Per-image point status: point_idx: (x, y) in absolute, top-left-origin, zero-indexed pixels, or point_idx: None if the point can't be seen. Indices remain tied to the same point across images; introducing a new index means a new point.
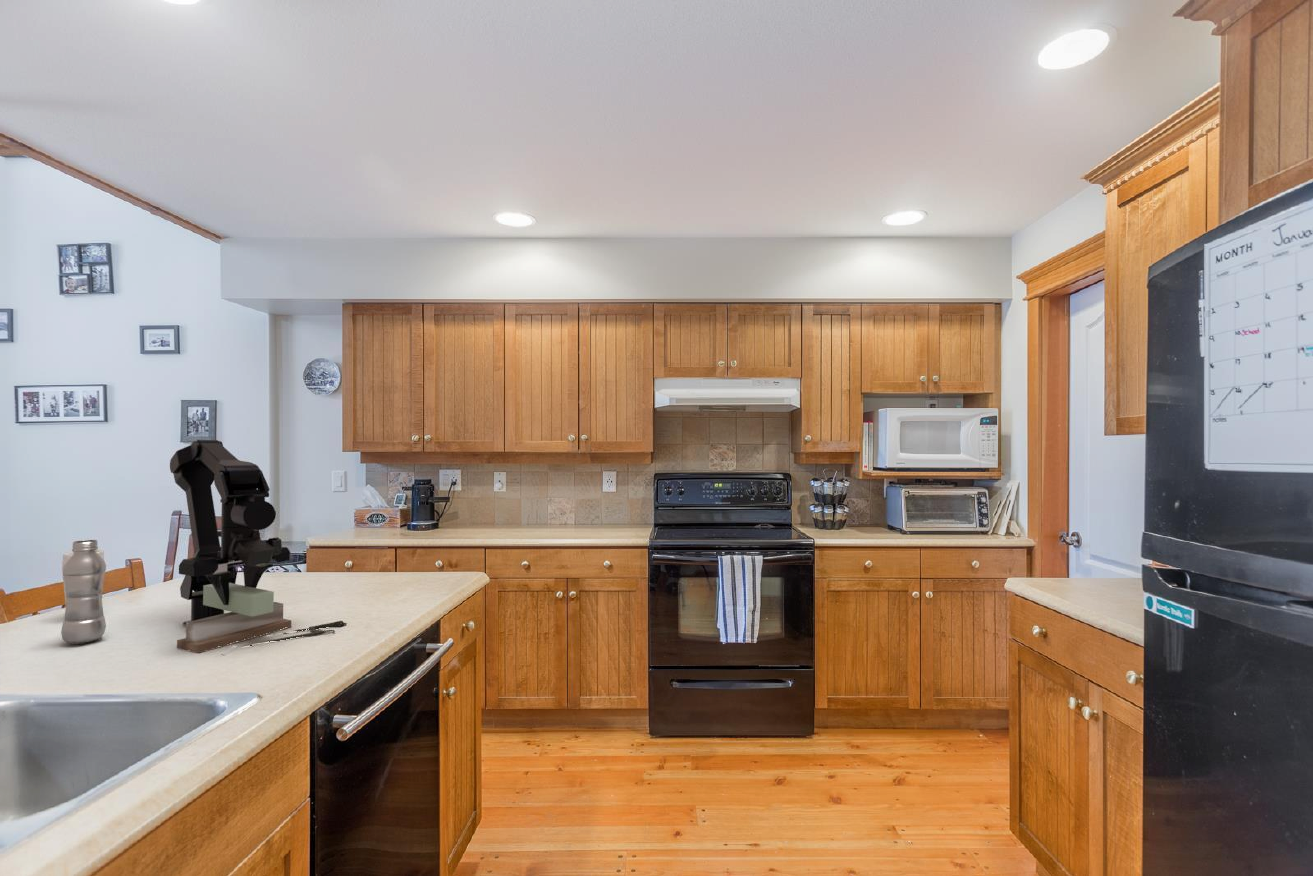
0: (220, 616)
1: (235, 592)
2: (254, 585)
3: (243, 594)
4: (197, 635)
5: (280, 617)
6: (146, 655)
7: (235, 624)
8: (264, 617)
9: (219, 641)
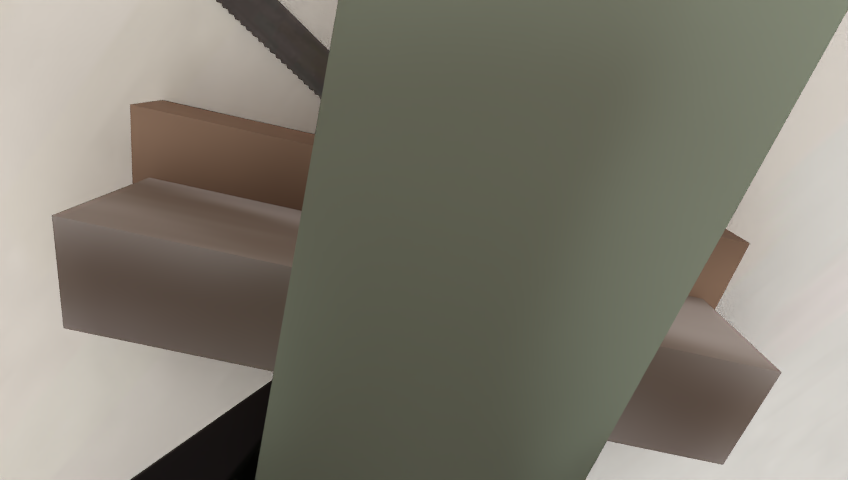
0: None
1: (612, 428)
2: (191, 477)
3: (729, 205)
4: (714, 318)
5: (156, 186)
6: (748, 429)
7: None
8: (262, 225)
9: None
